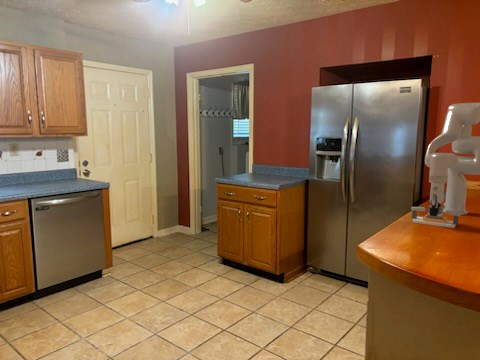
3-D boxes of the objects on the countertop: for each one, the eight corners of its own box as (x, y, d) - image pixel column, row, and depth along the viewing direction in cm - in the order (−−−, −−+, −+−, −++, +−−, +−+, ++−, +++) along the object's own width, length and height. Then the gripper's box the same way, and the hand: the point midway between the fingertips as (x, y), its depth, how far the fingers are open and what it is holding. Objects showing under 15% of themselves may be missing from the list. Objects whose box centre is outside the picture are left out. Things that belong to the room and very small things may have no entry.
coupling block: (428, 218, 179) (429, 205, 178) (442, 220, 175) (443, 206, 174) (426, 220, 175) (427, 206, 174) (440, 222, 171) (441, 208, 170)
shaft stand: (408, 221, 177) (409, 208, 177) (412, 218, 185) (413, 205, 184) (458, 228, 165) (459, 214, 164) (460, 224, 173) (461, 210, 172)
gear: (453, 204, 213) (442, 191, 218) (444, 210, 217) (435, 197, 222) (461, 205, 219) (451, 192, 225) (453, 210, 223) (444, 198, 228)
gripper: (444, 182, 163) (441, 218, 165) (449, 178, 177) (446, 212, 179) (425, 180, 168) (423, 216, 170) (432, 177, 181) (429, 210, 184)
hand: (435, 214), depth 174 cm, fingers open, 9 cm apart
